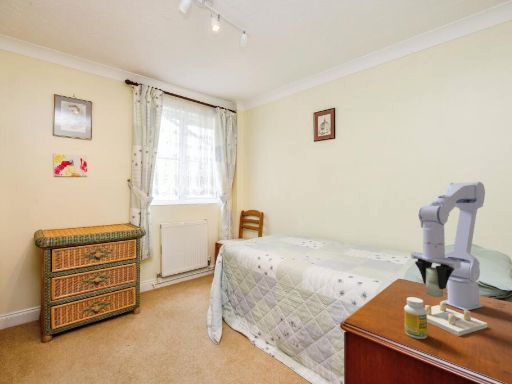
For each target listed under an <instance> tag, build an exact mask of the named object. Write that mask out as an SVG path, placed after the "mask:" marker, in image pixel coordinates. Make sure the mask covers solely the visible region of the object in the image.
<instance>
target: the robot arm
mask: <svg viewBox="0 0 512 384" xmlns="http://www.w3.org/2000/svg"><path fill="white" fill-rule="evenodd" d="M446 187H447V188H446V193H445V194H439V195H438V196H437V197H436V198H435V199H434V200H433V201H431V203H429V204H428V205H426V204H425V205H423V206H421V207H420V208H419V211H418V220H419V222H420V227H421V229H422V252H410V259H413V260H417V261H415V263H414V264H415V265H416V267H417V269H418V270H419V273H420V275H421V277H422V282H423V284H424V285H426V267H432V266H433V264H436V265H435V267H434V268H436V270H437V274H438V282H439V289H443V290H446V288H447V299H446V300H445V299H444V300H442V301H441V302H445V303H446V305H448V306H451V307H454V308H457V309H459V310H463V311H464V310H467V311H471V310H475V309H479V308H482V307H483V305H482V304H481V303H480V302H481V301H480V286H479V283H477V281H478V280H479V279H480V275H481V270H480V262H479V259H478V258H477V257H475V256H474V255H473V254H471V253H472V252H471V251H472V244H473V238H474V234H475V233H474V232H475V225H476V218H477V213H478V209H480V208H483V206H484V202H485V197H486V189H485V185H484V183H482V182H481V181H476V182H474V181H473V182H455V183H454V182H450V183H449V184H448V185H447V186H446ZM455 208H457V209H459V212H458V213H459V214H458V220H457V225H456V230H455V238H454V241H453V242H454V244H453V249H452V250H450V251H448V252H446V249H445V247H446V243H445V224H447V223H448V220H449V217H450V213H451V212H452V211H453V210H454V209H455Z"/></svg>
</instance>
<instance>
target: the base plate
mask: <svg viewBox="0 0 512 384" xmlns="http://www.w3.org/2000/svg"><path fill="white" fill-rule="evenodd" d="M424 308H425V310H426V312H427V324H428V323H429V324H430V325H433V326H434V327H435V326H436V327H437V328H439V329H442V330H444V331H446V332H448V333H451V334H452V335H455V336H458V337H461V336H464V335H467V334H470V333H473V332H477V331H480V330H484V329H487V328H488V323H487V322H485V321H482V320H480V319H477V318H475V317H472V316H471V315H472V314H471V310H468V311H467V310H463V313H460V312H459V311H455V310H453V309H450V308H447V304H446V303H445V302H442V301H439V304H437V305H433V306H432V305H429V304H425V305H424Z"/></svg>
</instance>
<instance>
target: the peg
mask: <svg viewBox="0 0 512 384" xmlns="http://www.w3.org/2000/svg"><path fill="white" fill-rule="evenodd" d="M425 294H426V295H427V296H431V297H434V298H435V297H436V298H443V296H444V289H439V282H438V274H437V270H436V267H434V266H433V267H426V284H425Z"/></svg>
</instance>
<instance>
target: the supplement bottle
mask: <svg viewBox="0 0 512 384" xmlns="http://www.w3.org/2000/svg"><path fill="white" fill-rule="evenodd" d="M403 307H404V308H403V310H404V312H403V313H404V316H403V317H404V318H403V319H404V332H405V334H406V335H407V336H409V337H410V338H413V339H416V340H417V339H419V340H424V339H426V338H427V337H428V322H427V312H426V310H425V305H424V300H423V299H422V298H418V297H415V296H410V297H407V298H406V305H405V306H403Z"/></svg>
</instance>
